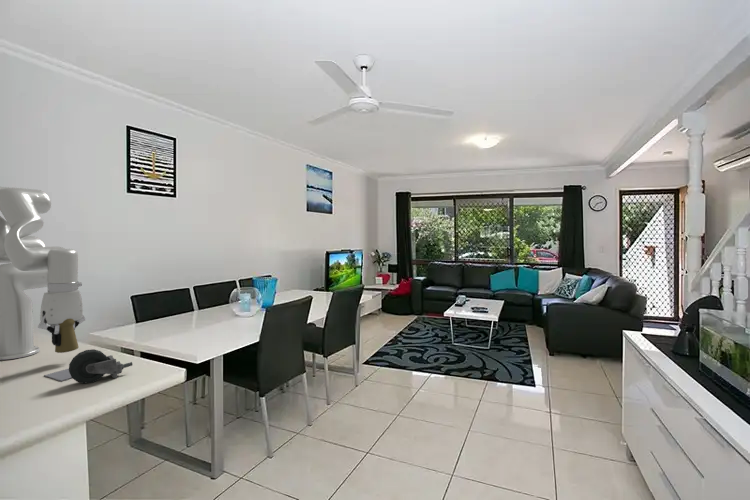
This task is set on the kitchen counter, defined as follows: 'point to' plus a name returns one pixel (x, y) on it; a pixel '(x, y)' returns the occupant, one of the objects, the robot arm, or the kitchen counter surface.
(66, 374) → the mat
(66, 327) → the cork
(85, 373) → the caster wheel
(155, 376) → the kitchen counter surface
